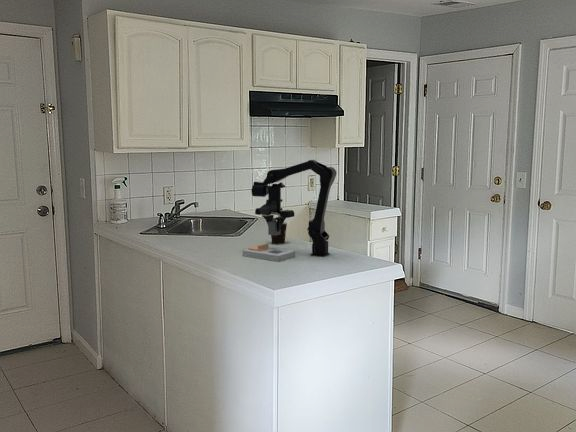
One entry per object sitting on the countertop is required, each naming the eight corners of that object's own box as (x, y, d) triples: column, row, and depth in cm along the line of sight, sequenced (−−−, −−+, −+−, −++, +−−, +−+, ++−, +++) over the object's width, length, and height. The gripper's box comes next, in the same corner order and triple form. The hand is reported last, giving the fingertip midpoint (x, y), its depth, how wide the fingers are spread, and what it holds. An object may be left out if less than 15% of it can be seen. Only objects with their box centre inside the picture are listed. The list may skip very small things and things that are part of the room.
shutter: (268, 248, 249) (268, 243, 249) (259, 251, 244) (259, 246, 244) (257, 246, 253) (257, 242, 253) (248, 249, 248) (248, 244, 247)
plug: (280, 234, 255) (280, 218, 254) (275, 235, 252) (275, 219, 251) (273, 233, 258) (273, 217, 257) (268, 234, 254) (268, 218, 253)
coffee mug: (275, 240, 282) (275, 221, 281) (290, 242, 278) (290, 222, 276) (262, 244, 272) (262, 224, 271) (277, 246, 268) (277, 225, 267)
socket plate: (294, 256, 245) (294, 251, 244) (278, 261, 235) (278, 256, 235) (259, 251, 256) (259, 245, 256) (242, 255, 247) (242, 250, 246)
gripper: (247, 197, 251) (247, 231, 254) (280, 200, 241) (280, 235, 243) (262, 195, 260) (262, 228, 263) (295, 198, 250) (295, 232, 252)
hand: (274, 231), depth 255 cm, fingers closed on plug, 4 cm apart
